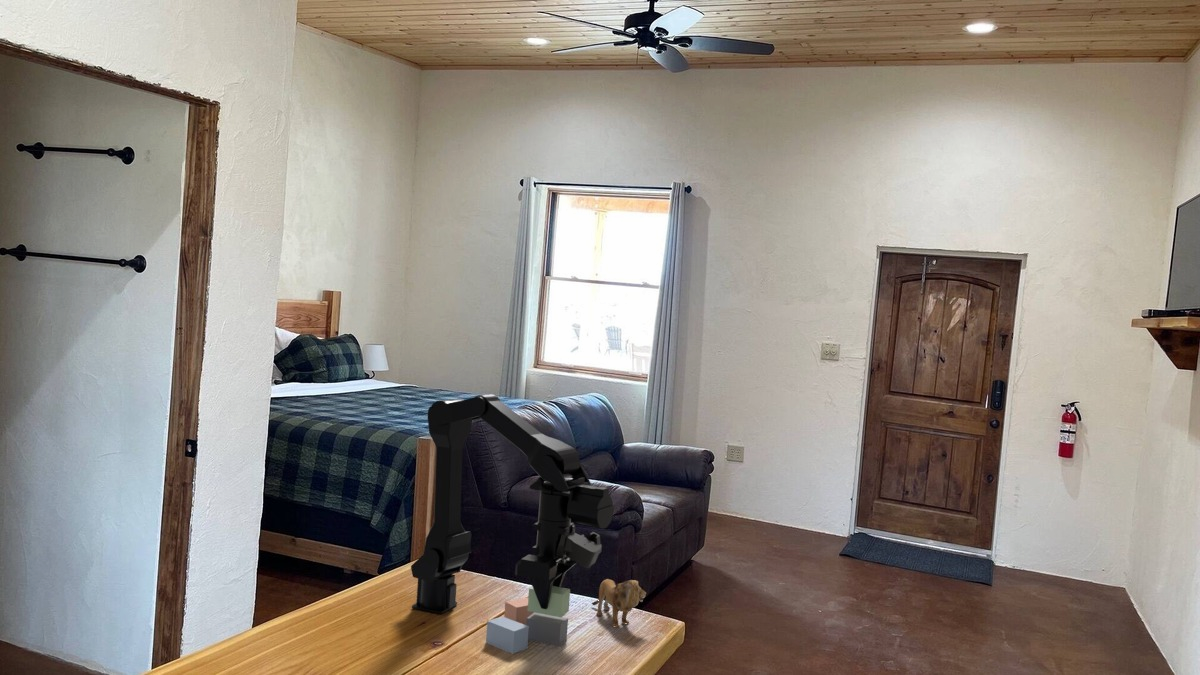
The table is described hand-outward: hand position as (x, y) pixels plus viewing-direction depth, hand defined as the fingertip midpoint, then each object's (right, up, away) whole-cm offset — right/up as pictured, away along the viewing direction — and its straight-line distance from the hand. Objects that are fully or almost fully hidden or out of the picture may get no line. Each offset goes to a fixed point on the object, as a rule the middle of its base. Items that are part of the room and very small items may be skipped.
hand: (548, 605), depth 164 cm
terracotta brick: (-5, -6, +8) cm, 11 cm away
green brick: (0, -1, 0) cm, 1 cm away
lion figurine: (+12, -7, +13) cm, 19 cm away
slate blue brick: (-7, -6, -4) cm, 10 cm away
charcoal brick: (0, -6, 0) cm, 6 cm away
